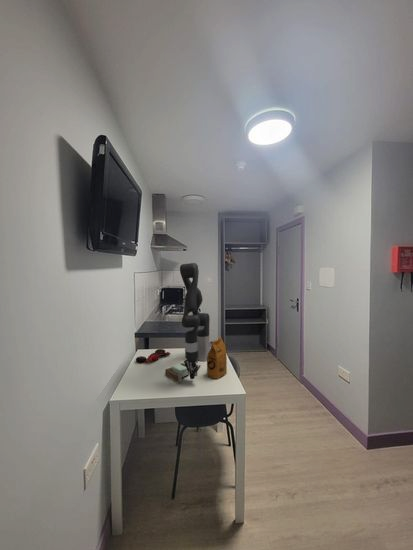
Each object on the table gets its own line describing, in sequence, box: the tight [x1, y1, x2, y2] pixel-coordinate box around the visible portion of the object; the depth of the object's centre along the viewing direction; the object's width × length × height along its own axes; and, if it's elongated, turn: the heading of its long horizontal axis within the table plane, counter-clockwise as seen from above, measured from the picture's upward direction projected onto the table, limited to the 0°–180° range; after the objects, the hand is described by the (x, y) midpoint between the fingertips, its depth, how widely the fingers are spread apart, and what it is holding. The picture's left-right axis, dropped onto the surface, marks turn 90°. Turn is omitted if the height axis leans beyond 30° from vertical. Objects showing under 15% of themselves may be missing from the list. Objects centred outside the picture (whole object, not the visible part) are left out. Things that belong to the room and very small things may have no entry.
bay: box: [164, 362, 198, 384], centre depth 144 cm, size 14×15×5 cm
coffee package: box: [206, 336, 228, 380], centre depth 144 cm, size 10×12×22 cm
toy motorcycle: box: [135, 348, 171, 364], centre depth 171 cm, size 25×5×16 cm
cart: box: [171, 363, 190, 378], centre depth 144 cm, size 9×7×5 cm
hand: (192, 378), depth 136 cm, fingers closed
